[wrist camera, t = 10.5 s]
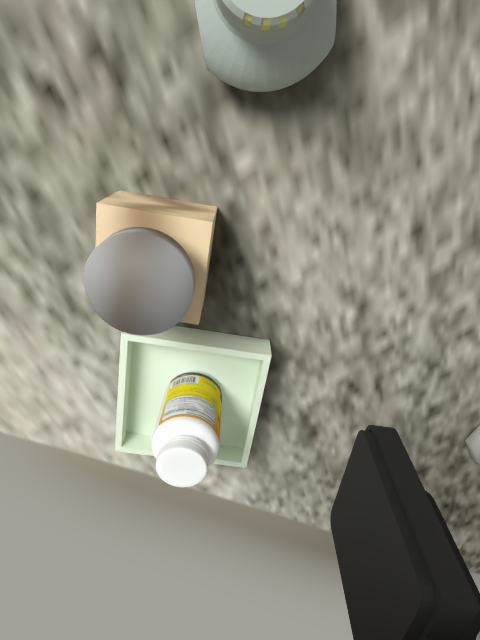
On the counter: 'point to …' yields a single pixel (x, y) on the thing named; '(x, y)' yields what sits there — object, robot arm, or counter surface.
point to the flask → (474, 445)
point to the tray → (191, 355)
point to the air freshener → (265, 40)
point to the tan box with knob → (149, 262)
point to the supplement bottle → (187, 429)
